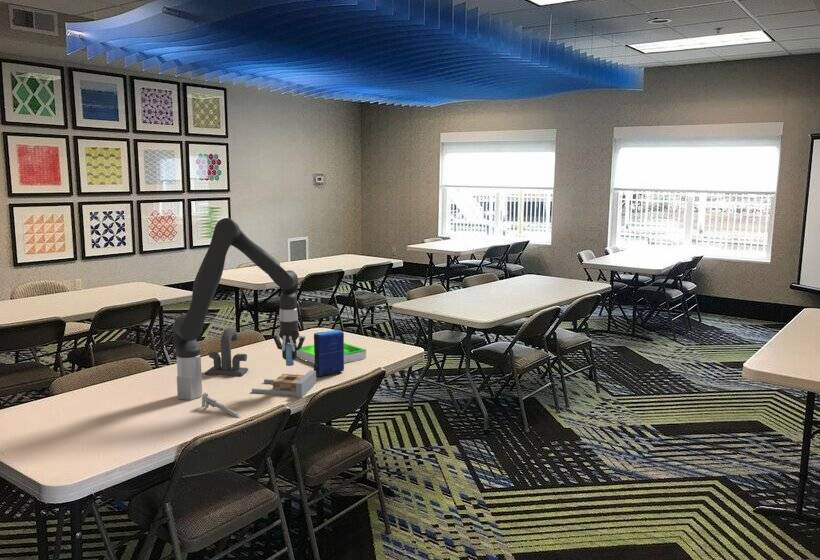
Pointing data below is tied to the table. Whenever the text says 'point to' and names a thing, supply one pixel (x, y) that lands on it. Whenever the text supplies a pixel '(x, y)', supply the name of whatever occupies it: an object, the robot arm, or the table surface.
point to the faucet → (227, 357)
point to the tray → (349, 353)
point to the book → (329, 352)
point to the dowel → (289, 355)
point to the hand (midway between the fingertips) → (289, 359)
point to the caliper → (216, 405)
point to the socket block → (286, 382)
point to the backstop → (301, 386)
